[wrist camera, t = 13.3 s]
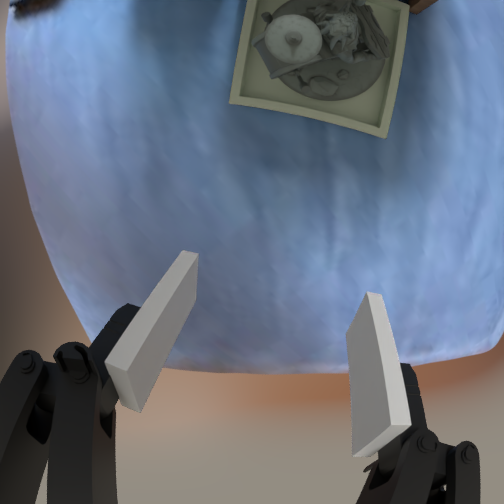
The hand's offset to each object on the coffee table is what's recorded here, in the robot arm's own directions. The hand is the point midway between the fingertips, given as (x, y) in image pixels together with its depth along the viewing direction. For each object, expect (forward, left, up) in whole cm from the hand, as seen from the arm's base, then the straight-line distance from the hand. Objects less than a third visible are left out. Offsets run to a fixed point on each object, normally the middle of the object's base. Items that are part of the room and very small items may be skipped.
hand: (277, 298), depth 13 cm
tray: (0, +14, -17) cm, 22 cm away
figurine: (0, +14, -16) cm, 22 cm away
